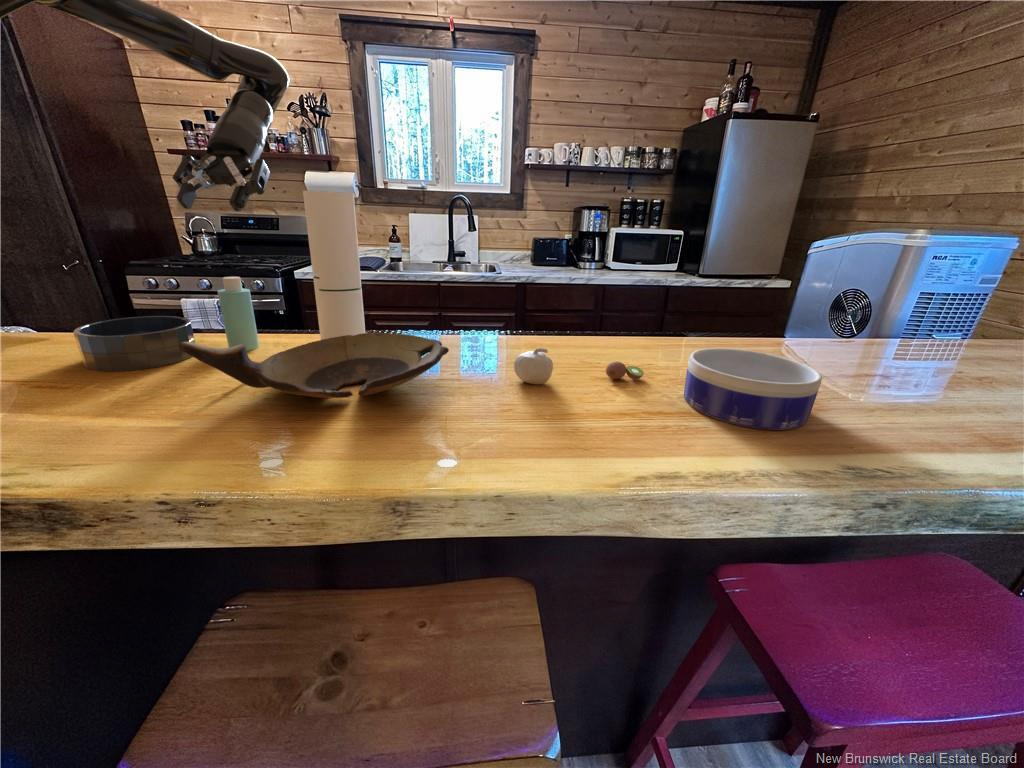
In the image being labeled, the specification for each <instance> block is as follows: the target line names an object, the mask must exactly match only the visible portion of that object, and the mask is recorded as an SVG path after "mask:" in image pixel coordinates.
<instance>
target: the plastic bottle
mask: <svg viewBox="0 0 1024 768" xmlns="http://www.w3.org/2000/svg"><path fill="white" fill-rule="evenodd" d="M222 285H223V289H218V290H217V291H216V293H217V296H218V301H219V306H220V312H221V316H222V322H223V325H224V333H225V337H226V341H227V346H228V347H227V348H229V347H234V346H237V345H240V344H244V345H245V347H246V351H247V352H249V351H253V350H257V349H259V348H260V341H259V336H258V330H257V324H256V317H255V313H254V307H253V301H252V295H251V289H249V288H243V284H242V279H241V277H240V276H224V277H222Z"/></svg>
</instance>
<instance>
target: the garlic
mask: <svg viewBox="0 0 1024 768" xmlns="http://www.w3.org/2000/svg"><path fill="white" fill-rule="evenodd" d="M547 354H548V349H547V348H543V347H540V348H539V347H538V348H536V349H535V350H529V351H526V352H523V353H520V354H519V355H517V356H516V358H515V360H514V363H513V370H514V373H515V375H516V377H517V378H518V379H519V380H521V381H522V382H524V383H526V384H532V385H543V384H545V383H547V382H548V381H550V379H551V378H552V374H553V370H554V364H553V361H552V359H551V357H549V356H548V355H547Z"/></svg>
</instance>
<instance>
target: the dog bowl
mask: <svg viewBox="0 0 1024 768" xmlns="http://www.w3.org/2000/svg"><path fill="white" fill-rule="evenodd" d="M822 381H823V376H822V375H821V373H820V372H819V371H818V370H817V369H815V368H813V367H811V366H809V365H807V364H805V363H803V362H799V361H798V360H797V361H796V360H794V359H792V358H788V357H784V356H780V355H776V354H772V353H771V354H770V353H767V352H762V351H756V350H749V349H741V348H727V347H725V348H724V347H713V348H712V347H710V348H709V347H708V348H702V349H698V350H695V351H693V352H691V354H689V357H688V362H687V368H686V374H685V382H684V389H683V398H684V400H685V402H686V403H687V404H688V405H689V406H690V407H692V408H694V410H697V411H698V412H700V413H702V414H704V415H706V416H709V417H711V418H714V419H716V420H719V421H722V422H725V423H729V424H733V425H738V426H741V427H747V428H753V429H758V430H771V431H785V430H793V429H797V428H800V427H802V426H804V425H806V423H808V420H809V418H810V415H811V413H812V410H813V408H814V405H815V401H816V398H817V395H818V393H819V389H820V387H821V384H822Z"/></svg>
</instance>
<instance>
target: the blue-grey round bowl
mask: <svg viewBox="0 0 1024 768" xmlns="http://www.w3.org/2000/svg"><path fill="white" fill-rule="evenodd" d="M73 336H74V338H75V342H76V345H77V348H78V351H79V355H80V358H81V360H82V363H83V366H84V367H86V368H87V369H88V370H92V371H98V372H127V371H128V372H129V371H139V370H148V369H153V368H160V367H165V366H169V365H173V364H177V363H180V362H184V361H186V360H188V359H190V358H193V357H192V356H190V355H189V354H187V353H185V352H183V351H182V350H181V349H180V348H179V344H180V343H181V342H191V343H195V344H197V342H196V338H195V334H194V330H193V326H192V321H191V319H189V318H187V317H183V316H176V315H148V316H147V315H145V316H130V317H121V318H113V319H107V320H100V321H96V322H92V323H87V324H84V325H82V326H79V327H76V328H75V329H74V330H73Z"/></svg>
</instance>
